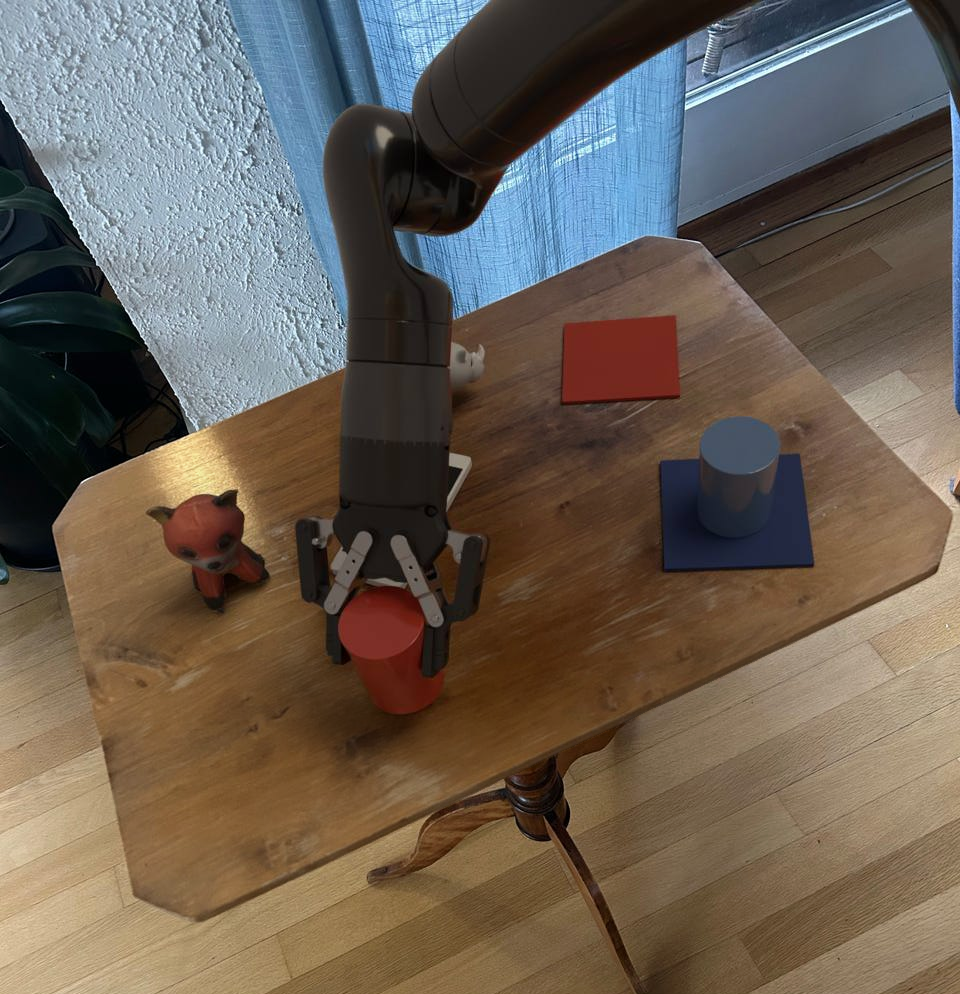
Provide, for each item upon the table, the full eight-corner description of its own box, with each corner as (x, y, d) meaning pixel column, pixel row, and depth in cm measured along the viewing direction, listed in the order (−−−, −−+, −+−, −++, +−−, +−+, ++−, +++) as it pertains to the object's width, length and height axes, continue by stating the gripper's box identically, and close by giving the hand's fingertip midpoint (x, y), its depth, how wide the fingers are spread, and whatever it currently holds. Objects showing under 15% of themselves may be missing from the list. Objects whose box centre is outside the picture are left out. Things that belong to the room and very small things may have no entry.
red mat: (675, 318, 101) (675, 314, 101) (679, 397, 96) (679, 394, 95) (564, 326, 103) (564, 323, 103) (562, 404, 97) (561, 401, 97)
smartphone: (330, 573, 90) (327, 567, 90) (406, 448, 97) (404, 441, 96) (402, 593, 88) (399, 587, 87) (474, 463, 95) (472, 456, 94)
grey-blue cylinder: (768, 480, 88) (777, 413, 82) (774, 537, 85) (784, 472, 78) (695, 483, 89) (697, 417, 83) (698, 539, 86) (701, 476, 79)
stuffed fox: (263, 510, 96) (217, 418, 86) (289, 599, 90) (243, 512, 80) (186, 537, 95) (131, 448, 85) (207, 629, 89) (150, 545, 79)
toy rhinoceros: (508, 412, 98) (501, 341, 92) (398, 464, 96) (382, 394, 89) (471, 371, 102) (462, 300, 95) (364, 420, 100) (347, 350, 93)
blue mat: (799, 456, 90) (799, 453, 89) (813, 566, 83) (814, 563, 83) (660, 463, 92) (660, 460, 91) (664, 571, 85) (664, 568, 85)
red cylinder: (448, 643, 79) (428, 583, 73) (441, 714, 76) (419, 658, 70) (371, 645, 81) (344, 586, 74) (361, 715, 77) (331, 660, 71)
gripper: (274, 426, 68) (271, 668, 72) (481, 442, 65) (466, 696, 69) (322, 425, 75) (317, 645, 79) (511, 438, 72) (496, 669, 76)
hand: (386, 668), depth 74 cm, fingers closed on red cylinder, 6 cm apart
